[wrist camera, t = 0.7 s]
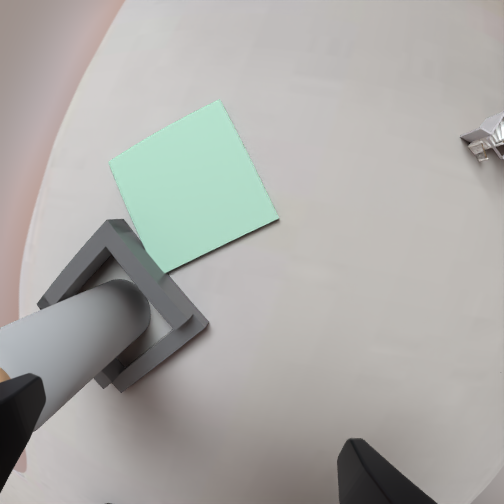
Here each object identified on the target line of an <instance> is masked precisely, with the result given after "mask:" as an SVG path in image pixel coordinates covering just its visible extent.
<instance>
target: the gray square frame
mask: <svg viewBox="0 0 504 504" xmlns="http://www.w3.org/2000/svg"><path fill="white" fill-rule="evenodd" d="M111 254H112V255H113V256H114V257H115V259H116V260H117V261H118V263H119V264H120V265H121V267H122V268H123V269H124V270H125V272H126V273H127V274H128V275H129V277H130V278H131V279H132V280H133V282H134V283H135V284H136V285H137V287H138V288H139V289H140V290H141V291H142V293H143V294H144V295H145V296H146V298H147V299H148V300H149V301H150V302H151V304H152V305H153V306H154V307H155V308H156V309H157V311H158V312H159V313H160V314H161V315H162V316H163V318H164V319H165V320H166V321H167V322H168V323H169V324H170V326H171V327H172V328H173V329H172V330H171V331H170V332H169V333H167V334H166V335H165V336H164V337H163V338H161V339H160V340H159V341H158V342H157V343H155V344H154V345H153V346H152V347H151V348H149V349H148V350H147V351H146V352H145V353H143V354H142V355H141V356H140V357H138V358H137V359H136V360H135V361H134V362H132V363H131V364H130V365H129V366H128V367H126V368H125V367H124V366H123V365H122V364H121V363H120V362H119V361H118V359H117V358H114V359H113V360H112V361H111V362H110V363H109V364H108V365H107V366H106V367H105V368H104V369H102V370H101V371H100V372H99V373H98V374H97V375H96V376H95V377H94V379H95V380H96V382H97V383H98V384H99V385H100V386H101V387H102V388H103V389H104V388H105V387H107V386H108V385H109V384H110V383H112V384H113V385H114V386H115V387H116V388H117V389H118V390H119V391H120V392H121V393H122V392H123V391H124V390H126V389H127V388H128V387H130V386H131V385H132V384H134V383H135V382H136V381H137V380H139V379H140V378H141V377H143V376H144V375H145V374H147V373H148V372H149V371H150V370H152V369H153V368H154V367H156V366H157V365H158V364H159V363H161V362H162V361H163V360H165V359H166V358H167V357H168V356H170V355H171V354H172V353H174V352H175V351H176V350H177V349H179V348H180V347H181V346H182V345H184V344H185V343H186V342H188V341H189V340H190V339H191V338H193V337H194V336H195V335H196V334H198V333H199V332H200V331H201V330H203V329H204V328H205V327H206V325H207V324H208V322H209V321H208V320H207V319H206V318H205V317H204V316H203V315H202V313H201V312H200V311H199V310H198V309H197V308H196V307H195V306H194V304H193V303H192V302H191V301H190V300H189V299H188V297H187V296H186V295H185V294H184V293H183V292H182V291H181V289H180V288H179V287H178V286H177V285H176V283H175V282H174V281H173V280H172V279H171V278H170V276H169V275H168V274H167V273H164V272H163V271H162V270H161V269H160V268H159V266H158V265H157V264H156V263H155V261H154V260H153V259H152V258H151V257H150V255H149V254H148V253H147V252H146V250H145V247H144V245H143V243H142V242H141V241H140V240H139V238H138V237H137V236H136V234H135V233H134V232H133V231H132V229H131V228H130V227H129V225H128V224H127V223H126V222H125V220H124V219H112V220H106V221H105V222H104V223H103V225H102V226H101V227H100V228H99V229H98V230H97V231H96V232H95V233H94V235H93V236H92V237H91V238H90V239H89V240H88V241H87V242H86V244H85V245H84V246H83V247H82V248H81V249H80V251H79V252H78V253H77V254H76V255H75V256H74V258H73V259H72V260H71V261H70V262H69V264H68V265H67V266H66V267H65V269H64V270H63V271H62V272H61V273H60V275H59V276H58V277H57V278H56V280H55V281H54V282H53V284H52V285H51V286H50V287H49V289H48V290H47V291H46V293H45V294H44V295H43V296H42V298H41V299H40V300H39V302H38V303H37V305H38V307H39V308H40V310H42V309H45V308H47V307H49V306H52V305H54V304H56V303H59V302H61V301H63V300H66V299H68V298H70V297H73V296H74V295H75V294H76V293H77V292H78V291H79V289H80V288H81V287H82V286H83V285H84V284H85V283H86V282H87V280H88V279H89V278H90V277H91V276H92V275H93V274H94V273H95V272H96V271H97V269H98V268H99V267H100V266H101V265H102V264H103V263H104V262H105V261H106V260H107V259H108V258H109V257H110V255H111Z"/></svg>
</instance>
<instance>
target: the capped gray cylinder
mask: <svg viewBox="0 0 504 504" xmlns="http://www.w3.org/2000/svg"><path fill="white" fill-rule="evenodd" d="M149 321H150V307H149V303H148V301H147V298H146V296H145V295H144V294H143V293H142V291H141V290H140V289H139V288H138V287H137V286H136V285H135V284H133V283H131V282H130V281H127V280H123V279H115V280H111V281H109V282H106V283H104V284H102V285H99V286H97V287H94V288H92V289H89V290H87V291H85V292H82V293H80V294H78V295H75V296H73V297H70V298H68V299H66V300H63V301H61V302H59V303H56V304H54V305H52V306H49V307H47V308H45V309H42V310H40V311H38V312H35V313H33V314H31V315H28V316H26V317H24V318H21V319H19V320H17V321H15V322H12V323H10V324H8V325H6V326H3V327H1V328H0V382H3V381H6V380H9V379H12V378H15V377H18V376H21V375H24V374H27V373H33V374H35V375H38V376H40V377H41V378H42V380H43V385H44V390H45V394H46V403H45V406H44V408H43V410H42V412H41V415H40V417H39V419H38V421H37V424H36V426H35V428H34V430H33V432H34V431H36V430H37V429H38V428H40V427H41V426H42V425H43V424H44V423H45V422H46V421H47V420H48V419H49V418H50V417H51V416H52V415H54V414H55V413H56V412H57V411H58V410H59V409H60V408H61V407H62V406H63V405H64V404H65V403H66V402H68V401H69V400H70V399H71V398H72V397H73V396H74V395H75V394H76V393H77V392H78V391H79V390H81V389H82V388H83V387H84V386H85V385H86V384H87V383H88V382H89V381H90V380H91V379H93V378H94V377H95V376H96V375H97V374H98V373H99V372H100V371H101V370H102V369H104V368H105V367H106V366H107V365H108V364H109V363H110V362H111V361H112V360H113V359H114V358H116V357H117V356H118V355H119V354H120V353H121V352H122V351H123V350H124V349H125V348H127V347H128V346H129V345H130V344H131V343H132V342H133V341H134V340H135V339H137V338H138V337H139V336H140V335H141V334H142V333H143V332H144V331H145V330H146V328H147V326H148V324H149Z"/></svg>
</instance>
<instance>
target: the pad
mask: <svg viewBox="0 0 504 504" xmlns="http://www.w3.org/2000/svg"><path fill="white" fill-rule="evenodd" d="M109 165H110V168H111V170H112V173H113V175H114V178H115V180H116V183H117V185H118V188H119V190H120V193H121V195H122V197H123V200H124V202H125V205H126V207H127V209H128V212H129V214H130V216H131V219H132V221H133V223H134V225H135V228H136V230H137V232H138V234H139V237H140V239H141V241H142V243H143V245H144V247H145V250H146V252H147V253H148V254H149V255H150V257H151V258H152V259H153V260H154V261H155V263H156V264H157V265H158V266H159V268H160V269H161V270H162V271H163V272H164V273H166V272H168V271H170V270H172V269H174V268H177V267H179V266H181V265H183V264H185V263H187V262H189V261H191V260H193V259H195V258H197V257H199V256H201V255H203V254H205V253H207V252H209V251H211V250H214V249H216V248H218V247H220V246H222V245H224V244H226V243H228V242H230V241H232V240H234V239H236V238H238V237H241V236H243V235H245V234H247V233H249V232H251V231H253V230H255V229H257V228H259V227H262V226H264V225H266V224H268V223H270V222H272V221H274V220H276V219H278V218H279V217H278V215H277V213H276V211H275V209H274V206H273V204H272V202H271V200H270V198H269V196H268V194H267V192H266V190H265V188H264V186H263V184H262V182H261V180H260V178H259V176H258V174H257V171H256V169H255V167H254V165H253V163H252V161H251V159H250V157H249V155H248V153H247V151H246V149H245V147H244V145H243V143H242V141H241V139H240V137H239V136H238V134H237V132H236V130H235V128H234V126H233V124H232V122H231V120H230V118H229V116H228V114H227V112H226V110H225V108H224V106H223V104H222V103H221V101H220V99H219V100H217V101H215V102H213V103H211V104H209V105H207V106H205V107H203V108H201V109H199V110H197V111H195V112H193V113H191V114H189V115H187V116H185V117H183V118H181V119H180V120H178V121H176V122H174V123H172V124H170V125H169V126H167V127H165V128H163V129H162V130H160V131H158V132H156V133H155V134H153V135H151V136H149V137H148V138H146V139H144V140H143V141H141V142H139V143H138V144H136V145H134V146H133V147H131V148H129V149H128V150H126V151H125V152H123V153H121V154H120V155H118V156H117V157H115V158H114V159H112V160H111V161H109Z"/></svg>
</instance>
